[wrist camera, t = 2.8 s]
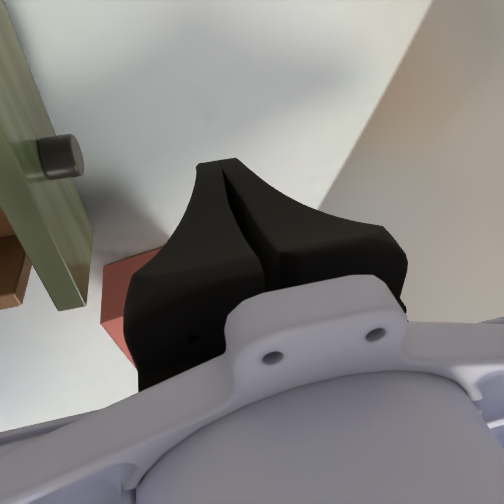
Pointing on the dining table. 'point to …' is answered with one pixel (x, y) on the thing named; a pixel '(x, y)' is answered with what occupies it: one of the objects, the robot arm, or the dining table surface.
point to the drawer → (37, 190)
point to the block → (119, 295)
